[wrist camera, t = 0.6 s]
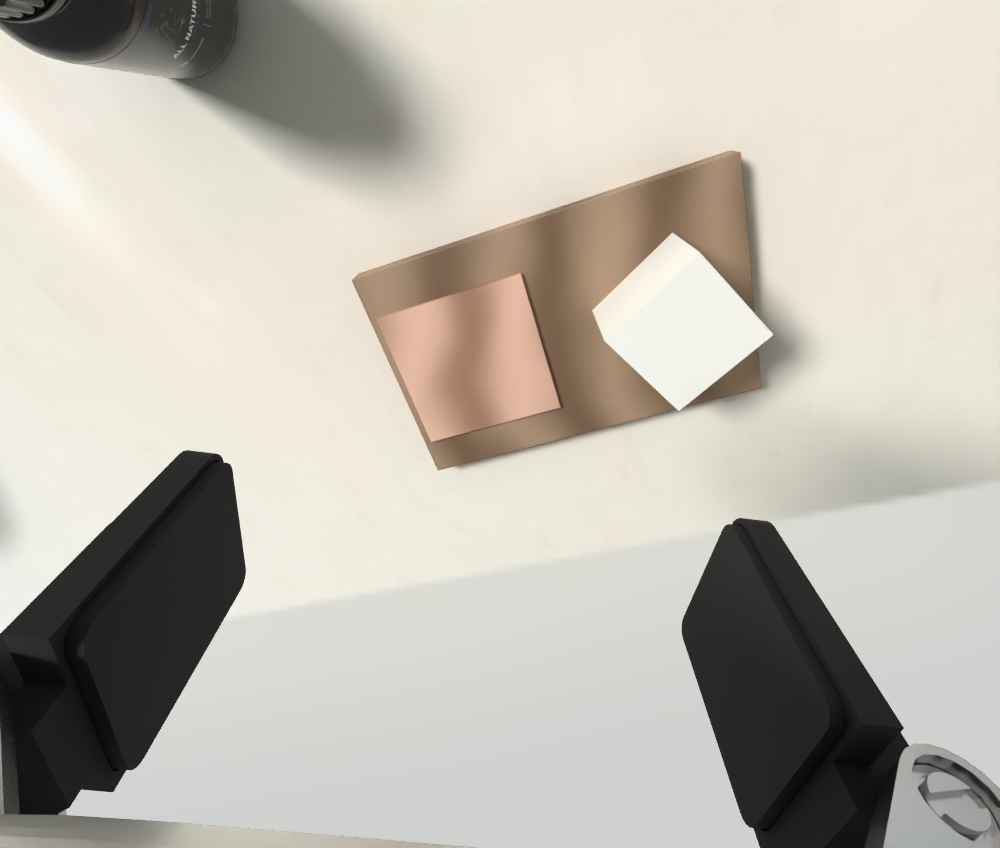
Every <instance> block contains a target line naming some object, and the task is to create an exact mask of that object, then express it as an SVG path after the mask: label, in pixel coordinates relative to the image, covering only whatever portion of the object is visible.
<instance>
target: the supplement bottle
mask: <svg viewBox="0 0 1000 848" xmlns="http://www.w3.org/2000/svg"><path fill="white" fill-rule="evenodd" d="M235 27H236V4H235V0H0V29H1V30H2V31H3V32H5V33H6V34H7V35H9V36H10V37H11V38H13V39H14V40H16V41H17V42H19V43H20V44H22V45H23V46H25V47H27V48H29V49H31V50H32V51H35V52H37V53H39V54H41V55H44V56H46V57H49V58H52V59H56V60H60V61H64V62H68V63H74V64H80V65H87V66H93V67H100V68H107V69H113V70H120V71H127V72H133V73H140V74H147V75H153V76H160V77H167V78H176V79H187V78H195V77H199V76H201V75H204V74H206V73H208V72H210V71H211V70H213V69H214V68H215V67H216V66H217V65H219V64H220V62H221V61H222V60H223V59H224V57H225V56H226V54H227V53H228V51H229V49H230V46H231V44H232V41H233V37H234V33H235Z"/></svg>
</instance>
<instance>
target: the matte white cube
mask: <svg viewBox="0 0 1000 848" xmlns="http://www.w3.org/2000/svg"><path fill="white" fill-rule="evenodd" d="M592 312H593V314H594V316H595V319H596V321H597V324H598V326H599V329H600V331H601V334H602V336H603V339H604V341H605V342H606V343H607V344H608V345H609V346H610V347H611V348H612V349H613V350H615V351H616V352H617V353H618V354H619V355H620V356H621V357H622V358H623V359H624V360H625V361H626V362H627V363H628V364H629V365H630V366H631V367H633V368H634V369H635V370H636V371H637V372H638V373H639V374H640V375H641V376H642V377H643V378H644V379H645V380H646V381H647V382H648V383H649V384H650V385H652V386H653V387H654V388H655V389H656V390H657V391H658V392H659V393H660V394H661V395H662V396H663V397H664V398H665V399H666V400H667V401H668V402H669V403H671V404H672V405H673V406H674V407H675V408H676V409H677V410H678V411H680V410H681V409H682V408H683V407H685V406H686V405H687V404H688V403H690V402H691V401H692V400H693V399H695V398H696V397H697V396H698V395H700V394H701V393H702V392H703V391H704V390H706V389H707V388H708V387H709V386H711V385H712V384H713V383H714V382H716V381H717V380H718V379H719V378H721V377H722V376H723V375H724V374H726V373H727V372H728V371H729V370H731V369H732V368H733V367H734V366H735V365H737V364H738V363H739V362H740V361H742V360H743V359H744V358H745V357H747V356H748V355H749V354H750V353H752V352H753V351H754V350H755V349H757V348H758V347H759V346H760V345H762V344H763V343H764V342H765V341H766V340H768V339H769V338H770V337H771V336H773V333H772V332H771V331H770V330H769V329H768V328H767V327H766V326H765V325H764V323H763V322H762V321H761V320H760V319H759V318H758V317H757V316H756V314H755V313H754V312H753V311H752V310H751V309H750V308H749V307H748V306H747V304H746V303H745V302H744V301H743V300H742V299H741V298H740V297H739V295H738V294H737V293H736V292H735V291H734V290H733V289H732V288H731V287H730V285H729V284H728V283H727V282H726V281H725V280H724V279H723V278H722V276H721V275H720V274H719V273H718V272H717V271H716V270H715V269H714V267H713V266H712V265H711V264H710V263H709V262H708V261H707V260H706V259H705V257H704V256H703V255H702V254H701V253H700V252H699V251H697V250H696V249H695V248H693V247H692V246H691V245H689V244H688V243H686V242H685V241H684V240H682V239H681V238H679V237H678V236H677V235H675V234H674V233H673V232H672V233H671V234H670V235H669V236H668V237H667V238H666V239H665V240H664V241H663V242H662V243H661V244H660V245H659V246H658V247H657V248H656V249H655V250H654V251H653V252H652V253H651V254H650V255H649V256H648V257H647V258H646V259H645V260H644V261H643V262H642V263H641V264H639V265H638V266H637V267H636V268H635V269H634V270H633V271H632V272H631V273H630V274H629V275H628V276H627V277H626V278H625V279H624V280H623V281H622V282H621V283H620V284H619V285H618V286H617V287H616V288H615V289H614V290H613V291H612V292H611V293H610V294H609V295H608V296H607V297H605V298H604V299H603V300H602V301H601V302H600V303H599V304H598V305H597V306H596V307H595V308H594V309H593V310H592Z"/></svg>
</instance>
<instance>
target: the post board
mask: <svg viewBox="0 0 1000 848" xmlns="http://www.w3.org/2000/svg"><path fill="white" fill-rule="evenodd" d="M672 232H673V233H674V234H675V235H677V236H678V237H679V238H681V239H682V240H684V241H685V242H686V243H688V244H689V245H691V246H692V247H693V248H695V249H696V250H697V251H699V252H700V253H701V254H702V255H703V256H704V257H705V259H706V260H707V261H708V262H709V263H710V264H711V265H712V266H713V267H714V269H715V270H716V271H717V272H718V273H719V274H720V275H721V276H722V278H723V279H724V280H725V281H726V282H727V283H728V284H729V285H730V287H731V288H732V289H733V290H734V291H735V292H736V293H737V294H738V295H739V297H740V298H741V299H742V300H743V301H744V302H745V303H746V304H747V306H748V307H749V308H750V309H751V310H752V311H753V312H754V313H755V310H754V299H753V288H752V277H751V265H750V254H749V243H748V232H747V221H746V210H745V198H744V187H743V176H742V165H741V154H740V152H736V151H727V152H724V153H721V154H718V155H715V156H712V157H709V158H706V159H703V160H700V161H697V162H694V163H691V164H688V165H685V166H682V167H679V168H676V169H673V170H670V171H667V172H664V173H661V174H658V175H655V176H652V177H649V178H646V179H643V180H640V181H637V182H634V183H631V184H628V185H625V186H622V187H619V188H616V189H613V190H610V191H607V192H604V193H601V194H598V195H595V196H592V197H589V198H586V199H583V200H580V201H577V202H574V203H571V204H568V205H565V206H562V207H559V208H556V209H553V210H550V211H547V212H544V213H541V214H538V215H535V216H532V217H529V218H526V219H523V220H520V221H517V222H514V223H510V224H507V225H504V226H501V227H498V228H495V229H492V230H489V231H486V232H483V233H480V234H477V235H474V236H471V237H468V238H465V239H462V240H459V241H456V242H453V243H450V244H447V245H444V246H441V247H438V248H435V249H432V250H429V251H426V252H423V253H420V254H417V255H414V256H411V257H408V258H405V259H402V260H399V261H396V262H393V263H390V264H387V265H384V266H381V267H378V268H375V269H372V270H369V271H366V272H363V273H360V274H358V275H357V276H356V277H355V278H354V279H353V280H352V282H353V284H354V286H355V288H356V291H357V293H358V295H359V297H360V300H361V302H362V304H363V306H364V308H365V311H366V313H367V315H368V317H369V319H370V322H371V324H372V326H373V328H374V330H375V333H376V335H377V337H378V339H379V341H380V344H381V346H382V348H383V350H384V352H385V355H386V357H387V359H388V361H389V363H390V366H391V368H392V370H393V372H394V374H395V377H396V379H397V381H398V383H399V385H400V388H401V390H402V392H403V394H404V397H405V399H406V401H407V403H408V405H409V408H410V410H411V412H412V414H413V416H414V419H415V421H416V423H417V425H418V427H419V430H420V432H421V434H422V436H423V438H424V441H425V443H426V445H427V447H428V449H429V452H430V454H431V456H432V458H433V460H434V463H435V465H436V467H437V469H438V470H442V469H446V468H450V467H454V466H458V465H461V464H465V463H469V462H473V461H477V460H481V459H485V458H489V457H493V456H496V455H500V454H504V453H508V452H512V451H516V450H520V449H524V448H528V447H532V446H535V445H539V444H543V443H547V442H551V441H555V440H559V439H563V438H567V437H571V436H574V435H578V434H582V433H586V432H590V431H594V430H598V429H602V428H606V427H609V426H613V425H617V424H621V423H625V422H629V421H633V420H637V419H641V418H645V417H648V416H652V415H656V414H660V413H664V412H668V411H672V410H676V408H675V407H674V406H673V405H672V404H671V403H669V402H668V401H667V400H666V399H665V398H664V397H663V396H662V395H661V394H660V393H659V392H658V391H657V390H656V389H655V388H654V387H653V386H652V385H650V384H649V383H648V382H647V381H646V380H645V379H644V378H643V377H642V376H641V375H640V374H639V373H638V372H637V371H636V370H635V369H634V368H633V367H631V366H630V365H629V364H628V363H627V362H626V361H625V360H624V359H623V358H622V357H621V356H620V355H619V354H618V353H617V352H616V351H615V350H613V349H612V348H611V347H610V346H609V345H608V344H607V343H606V342H605V341H604V339H603V336H602V334H601V331H600V329H599V326H598V324H597V321H596V319H595V316H594V314H593V312H592V310H593V309H594V308H595V307H596V306H597V305H598V304H599V303H600V302H601V301H602V300H603V299H604V298H605V297H607V296H608V295H609V294H610V293H611V292H612V291H613V290H614V289H615V288H616V287H617V286H618V285H619V284H620V283H621V282H622V281H623V280H624V279H625V278H626V277H627V276H628V275H629V274H630V273H631V272H632V271H633V270H634V269H635V268H636V267H637V266H638V265H639V264H641V263H642V262H643V261H644V260H645V259H646V258H647V257H648V256H649V255H650V254H651V253H652V252H653V251H654V250H655V249H656V248H657V247H658V246H659V245H660V244H661V243H662V242H663V241H664V240H665V239H666V238H667V237H668V236H669V235H670V234H671V233H672ZM758 388H761V377H760V366H759V355H758V348H757V349H755V350H754V351H753V352H752V353H750V354H749V355H748V356H747V357H745V358H744V359H743V360H742V361H740V362H739V363H738V364H737V365H735V366H734V367H733V368H732V369H731V370H729V371H728V372H727V373H726V374H724V375H723V376H722V377H721V378H719V379H718V380H717V381H716V382H714V383H713V384H712V385H711V386H709V387H708V388H707V389H706V390H704V391H703V392H702V393H701V394H700V395H698V396H697V397H696V398H695V399H693V400H692V401H691V402H690V403H688V404H687V405H686V406H685V407H687V406H691V405H695V404H699V403H703V402H707V401H711V400H715V399H719V398H722V397H726V396H730V395H734V394H738V393H742V392H746V391H750V390H754V389H758ZM683 408H684V407H683Z"/></svg>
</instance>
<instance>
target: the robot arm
mask: <svg viewBox="0 0 1000 848" xmlns="http://www.w3.org/2000/svg"><path fill="white" fill-rule="evenodd" d="M245 573H246V568H245V560H244V553H243V546H242V538H241V531H240V523H239V516H238V509H237V501H236V494H235V486H234V479H233V472H232V467H231V465H230V464H228V463H224V462H223V459H222V457H221V456H220V455H218V454H213V453H205V452H197V451H188V450H187V451H183V452H182V453H180V454H179V455H178V456H177V457H176V458H175V459H174V460H173V461H172V462H171V463H170V464H169V465H168V466H167V467H166V468H165V469H164V470H163V471H162V472H161V473H160V474H159V475H158V476H157V477H156V478H155V479H154V480H153V481H152V482H151V483H150V484H149V485H148V486H147V487H146V488H145V490H144V491H143V492H142V493H141V494H140V495H139V496H138V497H137V498H136V499H135V500H134V501H133V502H132V503H131V504H130V505H129V506H128V507H127V508H126V509H125V510H124V511H123V512H122V513H121V514H120V515H119V516H118V517H117V518H116V519H115V520H114V521H113V522H112V523H110V524H109V525H108V526H107V527H106V528H105V529H104V530H103V531H102V532H101V533H100V534H99V535H98V536H97V537H96V538H95V539H94V540H93V541H92V542H91V543H90V544H89V545H88V546H87V547H86V548H85V549H84V550H83V551H82V552H81V553H80V554H79V555H78V556H77V557H76V558H75V559H74V560H73V561H72V562H71V563H70V564H69V565H68V566H67V567H66V568H65V569H64V570H63V571H62V572H61V573H60V574H59V575H58V576H57V577H56V578H55V579H54V580H53V581H52V582H51V583H50V584H49V585H48V586H47V587H46V588H45V589H44V590H43V591H42V592H41V593H40V594H39V595H38V596H37V597H36V598H35V599H34V600H33V601H32V602H31V603H30V604H29V605H28V606H27V607H26V609H25V610H24V611H23V612H22V613H21V614H20V615H19V616H18V617H17V618H16V619H15V620H14V621H13V622H12V623H11V624H10V625H9V626H8V627H7V628H6V629H5V630H4V631H3V632H2V633H1V634H0V848H473V847H462V846H450V845H439V844H427V843H415V842H404V841H393V840H381V839H371V838H359V837H346V836H335V835H323V834H311V833H299V832H287V831H275V830H274V831H273V830H262V829H251V828H238V827H226V826H215V825H203V824H191V823H178V822H162V821H147V820H131V819H115V818H99V817H84V816H67V815H66V809H67V808H69V807H70V806H71V804H72V802H73V801H74V800H75V798H76V796H77V795H78V793H79V792H80V790H81V789H83V790H94V791H106V792H113V791H114V790H115V788H116V786H117V785H118V783H119V781H120V780H121V778H122V776H123V774H124V773H125V771H126V770H133V769H134V768H136V767H137V766H138V765H139V764H140V763H141V761H142V760H143V758H144V757H145V755H146V753H147V751H148V749H149V748H150V746H151V745H152V743H153V741H154V739H155V737H156V736H157V734H158V732H159V731H160V729H161V727H162V725H163V724H164V722H165V720H166V718H167V717H168V715H169V713H170V711H171V710H172V708H173V706H174V705H175V703H176V701H177V699H178V698H179V696H180V694H181V692H182V691H183V689H184V687H185V685H186V684H187V682H188V680H189V679H190V677H191V675H192V673H193V671H194V670H195V668H196V666H197V665H198V663H199V661H200V659H201V658H202V656H203V654H204V652H205V651H206V649H207V647H208V645H209V644H210V642H211V640H212V639H213V637H214V635H215V633H216V632H217V630H218V628H219V626H220V625H221V623H222V621H223V620H224V618H225V616H226V614H227V613H228V611H229V609H230V607H231V606H232V604H233V602H234V600H235V599H236V597H237V595H238V593H239V592H240V590H241V588H242V586H243V583H244V579H245ZM682 636H683V640H684V643H685V646H686V649H687V652H688V654H689V658H690V661H691V664H692V667H693V670H694V673H695V676H696V679H697V682H698V685H699V688H700V691H701V694H702V697H703V700H704V703H705V706H706V710H707V712H708V716H709V719H710V722H711V725H712V728H713V731H714V734H715V737H716V740H717V743H718V746H719V749H720V752H721V755H722V758H723V761H724V764H725V767H726V770H727V773H728V776H729V779H730V782H731V786H732V789H733V792H734V795H735V798H736V801H737V804H738V807H739V809H740V813H741V815H742V818H743V820H744V821H745V823H746V824H747V825H748V826H749V827H751V828H754V831H755V834H756V837H757V840H758V842H759V846H760V848H1000V788H999V787H998V786H997V785H995V784H994V783H993V782H992V781H991V780H990V779H989V778H988V777H987V776H986V775H985V774H983V772H981V771H980V770H979V769H977V768H976V767H975V766H973V765H972V764H970V763H969V762H968V761H966V760H965V759H963V758H962V757H960V756H958V755H956V754H954V753H952V752H950V751H948V750H946V749H944V748H940V747H936V746H933V745H930V744H913V745H911V746H909V745H908V744H907V742H906V740H905V739H904V737H903V736H902V734H901V731H902V730H903V726H902V725H901V723H900V722H899V720H898V718H897V717H896V715H895V714H894V712H893V711H892V709H891V708H890V706H889V704H888V703H887V701H886V700H885V698H884V697H883V695H882V693H881V692H880V690H879V689H878V687H877V686H876V684H875V683H874V681H873V679H872V678H871V677H870V675H869V673H868V672H867V670H866V669H865V667H864V665H863V664H862V662H861V661H860V659H859V658H858V656H857V655H856V653H855V652H854V650H853V648H852V647H851V645H850V644H849V642H848V641H847V639H846V637H845V636H844V634H843V633H842V631H841V630H840V628H839V627H838V625H837V624H836V622H835V621H834V619H833V617H832V616H831V614H830V613H829V611H828V609H827V608H826V606H825V605H824V603H823V602H822V600H821V599H820V597H819V596H818V594H817V593H816V591H815V589H814V588H813V586H812V585H811V583H810V581H809V580H808V578H807V577H806V575H805V574H804V572H803V570H802V569H801V567H800V566H799V564H798V563H797V561H796V560H795V558H794V557H793V555H792V553H791V552H790V550H789V549H788V547H787V546H786V544H785V542H784V541H783V539H782V538H781V536H780V535H779V533H778V532H777V530H776V528H775V527H774V526H773V525H772V524H771V523H770V522H767V521H760V520H752V519H743V518H739V519H736V520H735V521H734V522H733V524H732V525H730V524H729V525H726V526H725V527H724V528H723V530H722V532H721V535H720V537H719V539H718V541H717V544H716V546H715V548H714V550H713V553H712V555H711V557H710V559H709V561H708V564H707V566H706V568H705V570H704V573H703V575H702V577H701V579H700V582H699V584H698V586H697V588H696V591H695V593H694V595H693V597H692V600H691V602H690V604H689V606H688V609H687V611H686V613H685V615H684V618H683V621H682Z"/></svg>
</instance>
